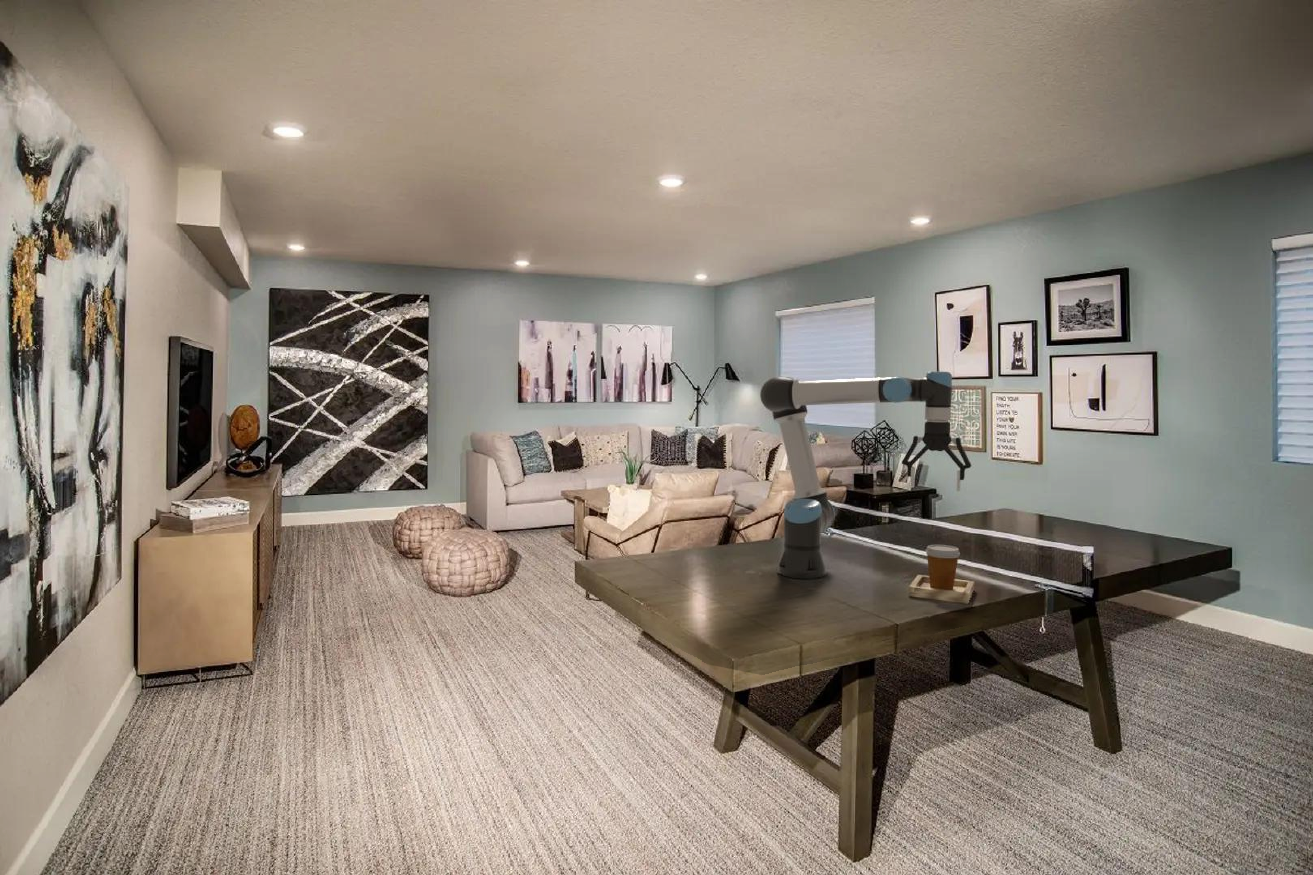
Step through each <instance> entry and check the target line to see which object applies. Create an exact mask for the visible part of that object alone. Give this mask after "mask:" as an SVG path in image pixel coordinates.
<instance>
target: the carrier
mask: <svg viewBox="0 0 1313 875" xmlns="http://www.w3.org/2000/svg"><path fill="white" fill-rule="evenodd" d="M973 591H975V580H973V581H972V580H963V579H957V578H955V580H954V585H953V590H941V589H933V588H931V587H930V579H929V575H922V574H917V575H916V577H915V578H914V579H913V580H912V582H911V584H910V585H909V586H908V597H914V598H922V599H929V600H936V601H937V600H938V601H944V602H951V603H952V602H953V603H959V604H964V605H965V604H967V605H968V603H970V601H971V599H972V596H973V594H974V592H973ZM972 593H973V594H972ZM970 598H971V599H970ZM969 600H970V601H969Z"/></svg>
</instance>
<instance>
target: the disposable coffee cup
mask: <svg viewBox="0 0 1313 875" xmlns="http://www.w3.org/2000/svg"><path fill="white" fill-rule="evenodd" d="M925 553H926V556H927V557H926V558H927V566H928V576H929V579H930V587H931V588H933V589H941V590H953V585H954V580H955V579H956V572H957V568H958V566H957V565H958V562H959V557H960V555H961V553H960V550H959V548H958V547H956V546H952V545H945V544H930V545H928V546H927V547H926V549H925Z"/></svg>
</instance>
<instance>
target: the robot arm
mask: <svg viewBox="0 0 1313 875" xmlns="http://www.w3.org/2000/svg"><path fill="white" fill-rule="evenodd" d="M952 377H953V376H952V373H951V372H949V371H927V372H926V375H925V377H902V376H892V377H876V378H875V377H873V378H855V379H853V378H851V379H832V380H831V379H830V380H814V381H813V380H811V381H800V380H799V379H798V378H794V377H789V376H788V377H787V376H786V377H779V376H777V377H771V378H769V379H768V380H766V381H765V382H764V383H763V385H762V386H761V389H760V393H759V396H760V398H759V399H760V402H761V403H762V405H763V406H764V408H766V409H767V410H769V411H771V413H772V417H773V418H772V419H773V421H774V422H776V423H778V424H779V428H780V431H781V432H780V433H781V436H782V440H783V444H784V450H785V453H786V457H787V462H788V466H789V472H790V475H791V480H792V483H793V489H794V494H793V496H792V498H791V500H789V501H787V502H786V504H785V505H784V511H783V516H784V520H783V522H784V524H783V525H784V526H783V550H782V553H781V556H780V558H779V562H778V566H777V574H779V575H781V574H782V576H784V577H787V578H793V579H800V580H802V579H803V580H810V579H811V580H812V579H819V578H824V577H825V576H826V573H827V572H826V571H827V570H826V569H827V568H826V564H825V562H824V558H823V554H822V552H821V545H822V544H821V543H822V542H821V540H822V534H823V533H824V532H826V531H827V530H829V529H830V528H831V526H832V524H833V523H834V520H835V516H836V515H835V514H836V513H835V509H834V506H833V505H832V504H833V503H832V502H831V501H829V498H828V493H827V490H825V489H824V488H822V487H821V483H820V480H819V476H818V474H819V473H818V471H817V466H816V462H815V457H814V454H813V449H812V444H811V440H810V437H809V432H808V428H807V424H806V416H807V414H808V413H809V412H808V409H807V406H822V405H823V406H824V405H825V406H826V405H846V404H847V405H850V404H853V405H854V404H872V403H873V404H876V403H878V404H879V403H880V404H881V403H885V404H887V403H895V404H896V403H902V402H903V403H904V402H905V403H906V402H909V403H910V402H913V403H914V402H915V403H917V402H921V403H923V402H925V406H924V407H925V408H924V420H925V422H924V429H923V430H924V432H923V434H924V435H923V436H918V435H914V436H913V440H912V443H911V445H910V446H909V449H908V450H907V452H906V454H905V456H904V457H903V459H902V461H901V464H902V465H904V466H906V467H907V478H908V477H909V478H910V488H911V489H913V488H915V481H916V480H915V479H916V477H915V476H916V466H914V465H915V463H916V462H917V461H918V460H919V459H920V458H921V457H922V456H923V455H924V454H925V453H926V452H927V451H928V450H929V451H931V452H935V451H937V452H946V454H947V455H948V456H949V458H951V460H952V461H953V462H954V463H955V465H956V466H957V467H958V469H957V470H956V473H957V474H956V491H958V492H960V491H961V481H964V480H965V476H966V475H965V473H966V472H965V471H966V470H967V469H970V468H971V467H972V464H971V461H970V458H968V455H967V453H966V451H965V449H964V447H963V445H962V439H961V437H951V422H949V421H951V420H952V419H951V417H952V415H951V414H952V392H953V382H952V381H953V378H952ZM921 441H922V442H923V444H924V447H922V449H921V450H920V451H919V452H918V453H917V454H916V455H915V456H914V457H913V458H912V459H911V460H910V458H911V457H912V454H913V453H914V451H915V449H916V448H917V445H918V444H920V443H921ZM951 443H953V445H955V446H956V448H957V450H958V453H959V455H960V456H961V458H962V460H963V462H962V460H960V459H959V458H958V456H957V454H955V453H954V451H953V450H952V449H951V448H950V447H949V446H950V444H951ZM909 460H910V461H909Z"/></svg>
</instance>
